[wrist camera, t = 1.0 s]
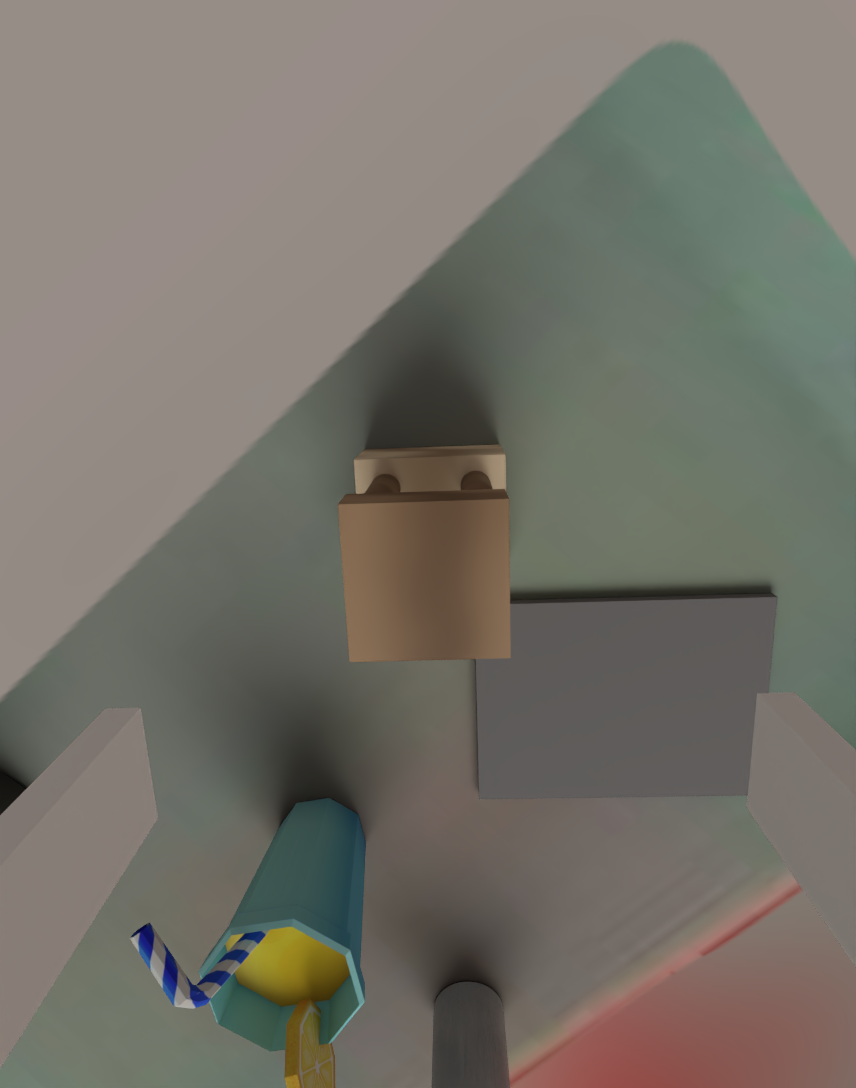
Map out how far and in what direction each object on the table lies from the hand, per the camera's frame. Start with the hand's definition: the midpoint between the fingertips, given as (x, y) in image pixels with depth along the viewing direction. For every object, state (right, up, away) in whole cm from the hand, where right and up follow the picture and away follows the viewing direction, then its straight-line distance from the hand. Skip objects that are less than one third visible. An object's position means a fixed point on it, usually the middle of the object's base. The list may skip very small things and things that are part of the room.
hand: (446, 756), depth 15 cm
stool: (0, +5, +18) cm, 19 cm away
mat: (+10, -4, +24) cm, 27 cm away
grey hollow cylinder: (+2, -26, +30) cm, 40 cm away
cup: (-7, -12, +27) cm, 31 cm away
